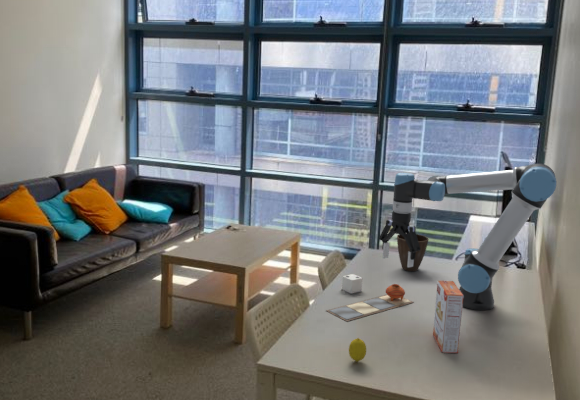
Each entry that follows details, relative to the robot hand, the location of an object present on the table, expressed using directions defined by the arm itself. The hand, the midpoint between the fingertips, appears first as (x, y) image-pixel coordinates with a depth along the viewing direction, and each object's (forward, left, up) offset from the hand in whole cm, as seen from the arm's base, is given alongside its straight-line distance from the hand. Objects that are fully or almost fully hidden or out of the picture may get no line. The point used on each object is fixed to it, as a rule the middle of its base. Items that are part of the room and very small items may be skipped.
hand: (397, 262), depth 234 cm
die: (+18, +7, -17) cm, 26 cm away
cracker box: (-38, +15, -17) cm, 44 cm away
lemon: (-31, +50, -17) cm, 61 cm away
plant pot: (+25, -38, -17) cm, 48 cm away
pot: (0, 0, -16) cm, 16 cm away
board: (0, +13, -16) cm, 21 cm away
